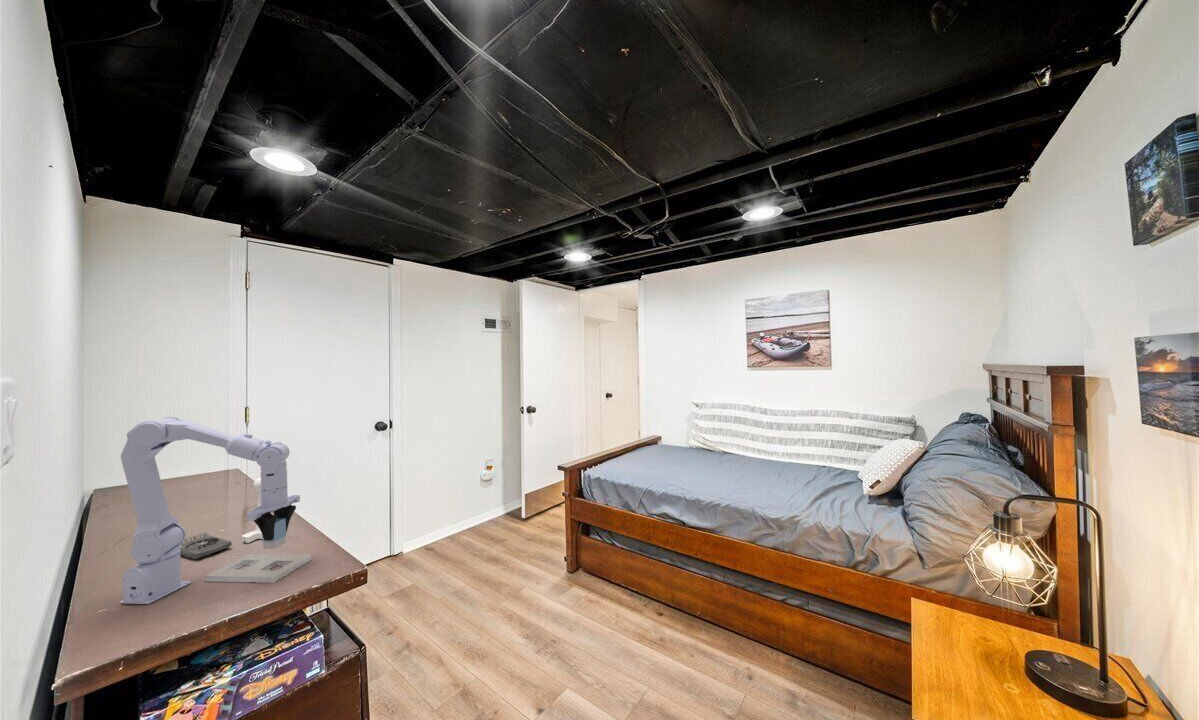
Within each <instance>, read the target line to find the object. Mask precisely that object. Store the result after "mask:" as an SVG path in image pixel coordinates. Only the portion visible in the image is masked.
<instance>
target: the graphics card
mask: <svg viewBox="0 0 1199 720" xmlns="http://www.w3.org/2000/svg"><path fill="white" fill-rule="evenodd" d="M232 544H233V543H232V541H231V540H227V539H224V538H220V537H217V536H213V535H209V534H208V532H202V533H199V534H196V535H193V536H190V537H187V538H186V537H185V539H184V541H183V542H182V543H181V544H180V556H185V557H186V558H191V559H194V560H196V559H200V558H202V557H205V556H208V555H210V554H211V555H212V553H215V552H219V550H220V551H222V549H223V550H224V549H226V548H229V547H231V546H232Z"/></svg>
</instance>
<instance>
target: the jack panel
mask: <svg viewBox="0 0 1199 720" xmlns="http://www.w3.org/2000/svg"><path fill="white" fill-rule="evenodd" d="M310 560H311V561H312V555H309V554H308V555H307V554H257V553H256V554H255V553H254V554H253V553H251V554H249V553H248V554H245V555H244V556H241V557H240V558H238V559H236V560H234V561H231V562H230V563H228V564H225V565H224V566H221V567H220V568H218V569H216V570H214V571H212V572H209V573H208V574H206V575H204V582H209V583H210V582H215V583H250V582H256V583H257V584H262V583H263V584H274V583H276V582H278V581H280V580H281V579H283V578H285V577H286V576H288V575H289V574H292V571H293V572H294V571H296V570H298V569H300V568H301V567H303V566H304V565H306V564H308V563H309V562H311V561H310ZM307 562H308V563H307ZM302 565H303V566H302ZM244 566H248V567H246V568H244V569H240V568H242V567H244ZM273 567H274V568H275V567H280V568H278V569H277V570H272V569H274V568H273ZM271 568H272V569H271ZM297 568H298V569H297ZM284 576H285V577H284ZM279 579H280V580H279ZM256 583H255V584H256Z"/></svg>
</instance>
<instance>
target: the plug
mask: <svg viewBox="0 0 1199 720" xmlns="http://www.w3.org/2000/svg"><path fill="white" fill-rule="evenodd" d="M286 536H287V532H286V518H277V519H276V522H275V526H274V538H273V540H270V541H268V540H264V538H263V535H262V539H261V541H262V547H263V550H264V549H265V550H267V549H270V550H271V549H272V550H274V549H277V548H279V547H282V545H285V544H286Z"/></svg>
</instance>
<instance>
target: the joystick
mask: <svg viewBox="0 0 1199 720" xmlns="http://www.w3.org/2000/svg"><path fill="white" fill-rule="evenodd" d="M252 486H253V489H255V491H257V497H256V498H257V499H256V500H257V502H256V508H258V507H259V506H261V476H260V477H258V478H256V479H255V480H254V481H253V484H252ZM259 539H261V540H262V533H261V530H260V529H259V527H258V525H257V524H256V523H255V530H252V531H249V532H247V533H245V534H242V535H241V544H245V543H246V544H249V543H251V542H253V541H256V540H259ZM244 542H245V543H244Z"/></svg>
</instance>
